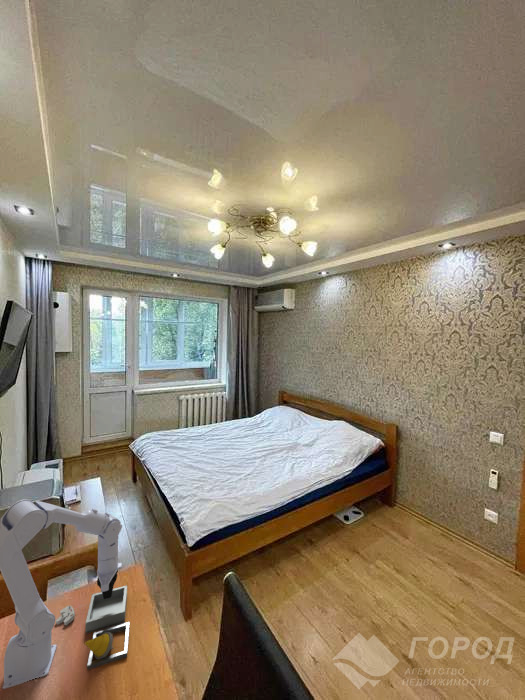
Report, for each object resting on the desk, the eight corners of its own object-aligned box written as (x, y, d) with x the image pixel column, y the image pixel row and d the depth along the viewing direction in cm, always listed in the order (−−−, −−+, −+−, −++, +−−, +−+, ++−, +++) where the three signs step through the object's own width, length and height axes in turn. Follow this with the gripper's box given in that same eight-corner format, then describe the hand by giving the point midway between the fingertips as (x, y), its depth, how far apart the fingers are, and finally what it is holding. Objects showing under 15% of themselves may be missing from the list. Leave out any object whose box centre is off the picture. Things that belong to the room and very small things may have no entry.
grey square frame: (87, 671, 77) (87, 666, 77) (93, 637, 86) (93, 632, 86) (127, 657, 80) (127, 652, 80) (129, 626, 89) (129, 621, 89)
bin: (85, 634, 86) (85, 622, 86) (92, 604, 96) (92, 594, 96) (124, 622, 90) (124, 611, 90) (127, 595, 100) (127, 585, 100)
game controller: (51, 622, 90) (51, 614, 90) (87, 594, 100) (87, 586, 100) (63, 630, 88) (63, 621, 87) (98, 600, 98) (98, 592, 98)
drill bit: (112, 663, 80) (83, 660, 74) (101, 656, 82) (72, 653, 77) (123, 636, 83) (96, 631, 78) (112, 631, 86) (85, 626, 80)
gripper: (119, 567, 88) (119, 611, 88) (123, 537, 101) (123, 575, 101) (93, 573, 85) (92, 618, 85) (100, 542, 99) (100, 581, 99)
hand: (107, 595), depth 93 cm, fingers closed
